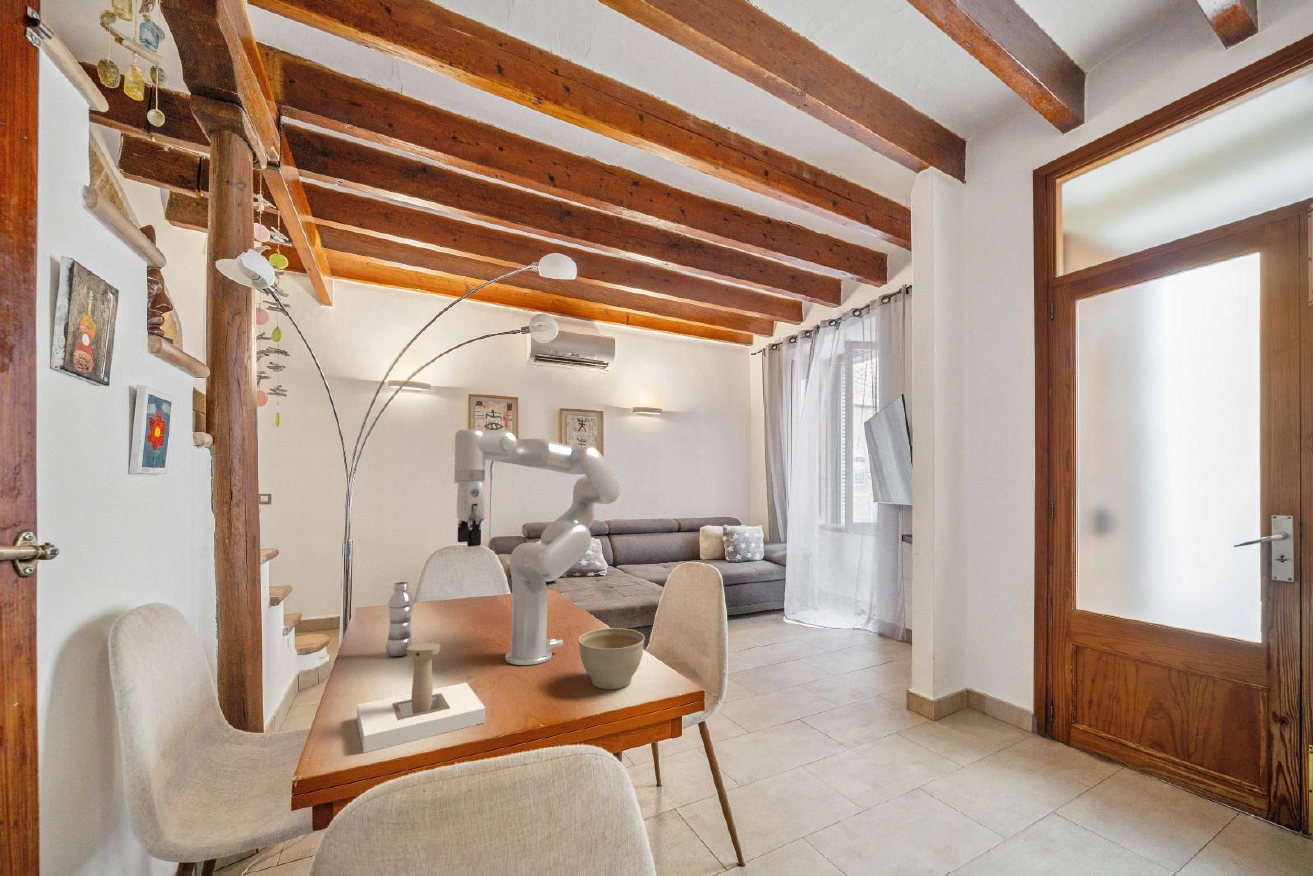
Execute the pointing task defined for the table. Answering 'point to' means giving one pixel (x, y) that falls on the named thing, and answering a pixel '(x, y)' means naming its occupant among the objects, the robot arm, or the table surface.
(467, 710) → the socket board
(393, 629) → the plastic bottle
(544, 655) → the robot arm
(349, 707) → the table surface
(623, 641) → the planter bowl
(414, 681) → the handle
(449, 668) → the table surface
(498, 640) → the table surface
